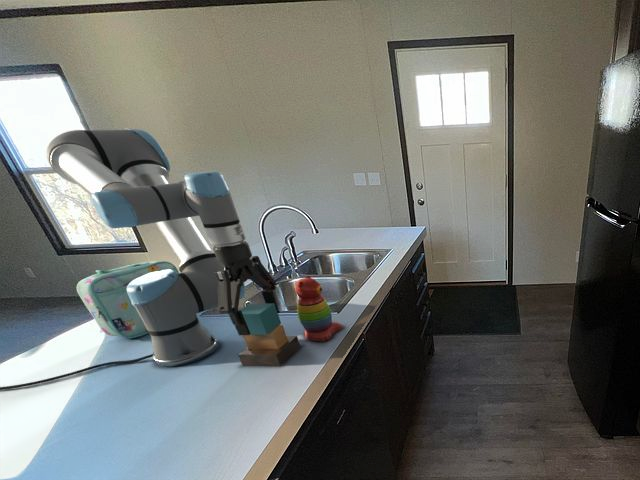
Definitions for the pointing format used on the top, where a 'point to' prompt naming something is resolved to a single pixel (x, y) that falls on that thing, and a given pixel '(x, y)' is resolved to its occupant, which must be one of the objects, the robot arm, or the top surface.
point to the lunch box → (117, 298)
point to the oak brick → (267, 339)
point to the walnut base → (269, 354)
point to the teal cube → (261, 318)
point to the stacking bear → (314, 311)
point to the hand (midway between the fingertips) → (260, 323)
